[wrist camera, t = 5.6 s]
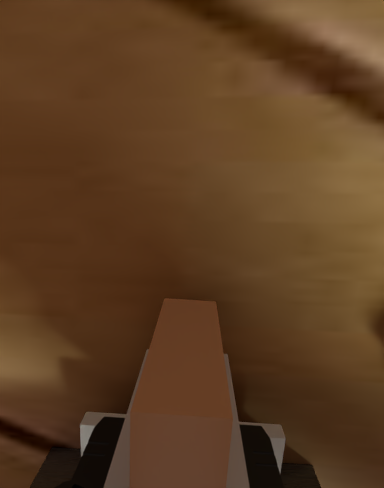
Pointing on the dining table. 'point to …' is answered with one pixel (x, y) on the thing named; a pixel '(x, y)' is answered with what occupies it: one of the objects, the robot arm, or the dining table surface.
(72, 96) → the dining table surface
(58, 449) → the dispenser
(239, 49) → the dining table surface
